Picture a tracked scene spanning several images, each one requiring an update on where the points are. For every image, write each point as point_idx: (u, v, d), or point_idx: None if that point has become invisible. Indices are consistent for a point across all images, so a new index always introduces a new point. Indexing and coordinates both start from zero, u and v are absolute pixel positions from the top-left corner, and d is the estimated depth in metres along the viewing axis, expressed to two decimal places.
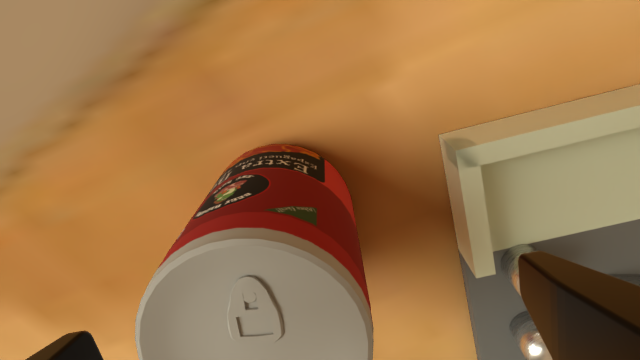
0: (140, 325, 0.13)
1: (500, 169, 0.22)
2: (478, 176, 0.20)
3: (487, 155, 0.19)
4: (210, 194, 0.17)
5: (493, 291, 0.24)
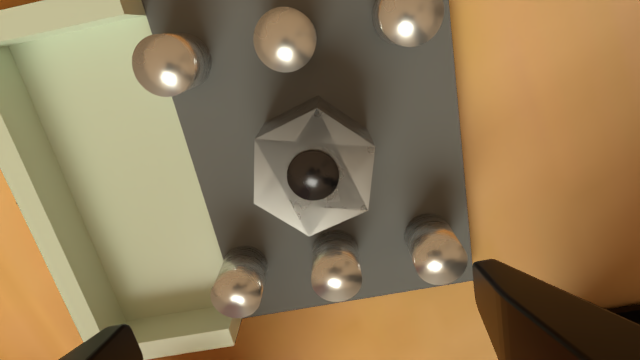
0: None
1: (140, 292, 0.21)
2: None
3: None
4: None
5: (284, 289, 0.21)
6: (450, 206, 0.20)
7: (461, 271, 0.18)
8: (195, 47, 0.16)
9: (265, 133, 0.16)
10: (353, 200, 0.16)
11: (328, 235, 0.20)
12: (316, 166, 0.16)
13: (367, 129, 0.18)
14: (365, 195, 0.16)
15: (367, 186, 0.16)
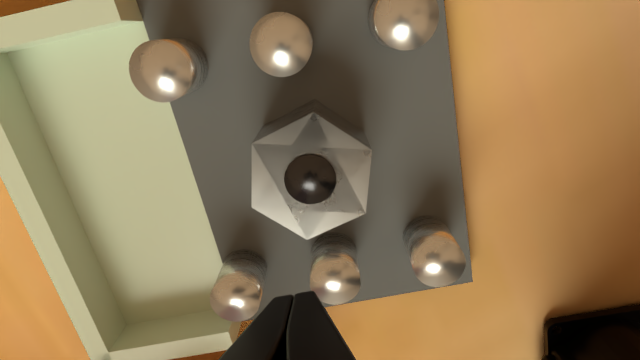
0: None
1: (140, 296, 0.22)
2: (119, 353, 0.20)
3: (97, 347, 0.20)
4: None
5: (284, 291, 0.21)
6: (448, 208, 0.20)
7: (459, 273, 0.18)
8: (192, 52, 0.16)
9: (262, 137, 0.16)
10: (350, 203, 0.17)
11: (326, 237, 0.20)
12: (313, 169, 0.16)
13: (364, 132, 0.18)
14: (362, 198, 0.16)
15: (364, 189, 0.16)
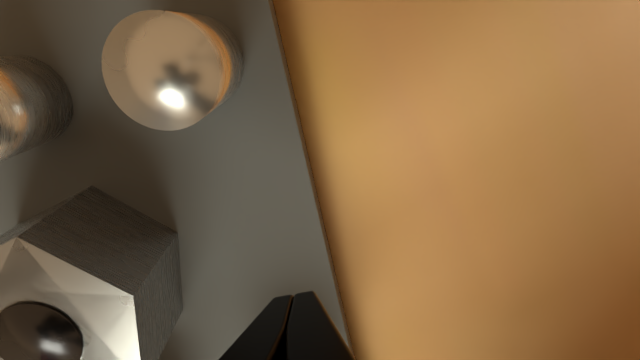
0: None
1: None
2: None
3: None
4: None
5: None
6: None
7: None
8: None
9: None
10: None
11: None
12: (40, 325, 0.09)
13: (175, 235, 0.12)
14: None
15: (134, 354, 0.10)
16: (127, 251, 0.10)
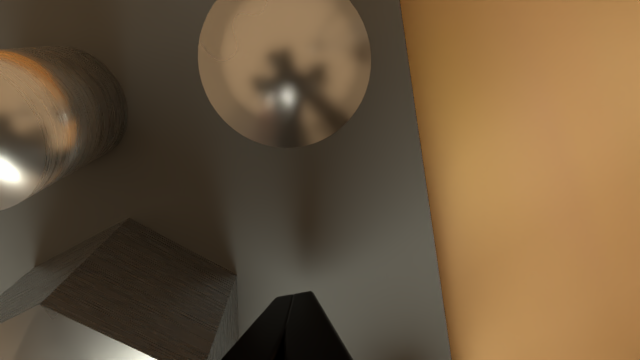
0: None
1: None
2: None
3: None
4: None
5: None
6: None
7: None
8: None
9: None
10: None
11: None
12: None
13: (235, 278, 0.09)
14: None
15: None
16: (183, 309, 0.08)
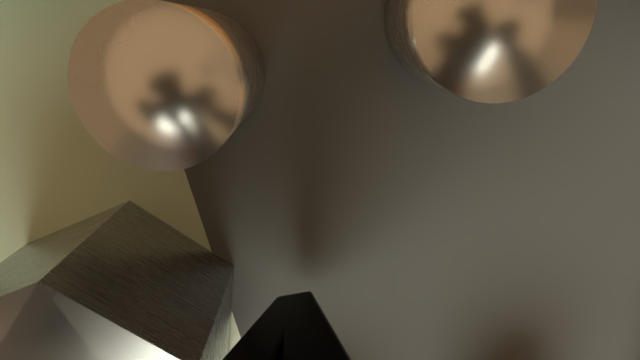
0: None
1: None
2: None
3: None
4: None
5: None
6: None
7: None
8: (237, 39, 0.06)
9: None
10: None
11: None
12: None
13: (232, 269, 0.09)
14: None
15: None
16: (181, 297, 0.07)
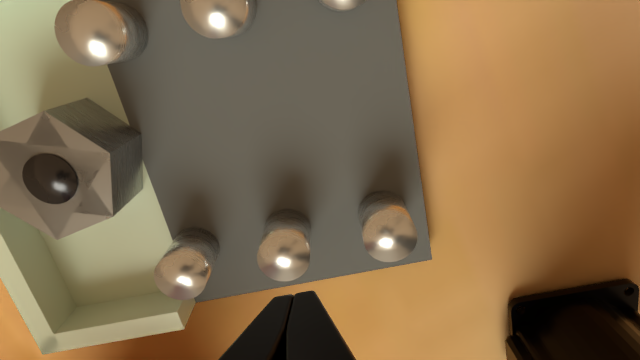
0: None
1: (89, 276, 0.21)
2: (65, 334, 0.20)
3: (42, 328, 0.19)
4: None
5: (238, 271, 0.21)
6: (404, 182, 0.19)
7: (412, 247, 0.17)
8: (124, 15, 0.15)
9: None
10: (96, 205, 0.16)
11: (278, 213, 0.19)
12: (53, 169, 0.16)
13: (140, 134, 0.18)
14: (107, 201, 0.16)
15: (108, 192, 0.16)
16: (107, 133, 0.17)
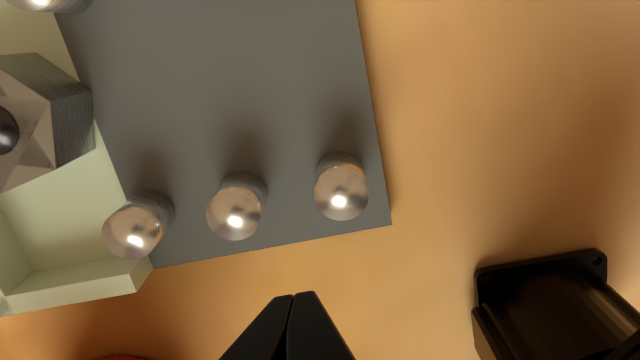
0: None
1: (44, 241, 0.21)
2: (16, 297, 0.19)
3: None
4: None
5: (195, 236, 0.20)
6: (361, 143, 0.19)
7: (363, 205, 0.17)
8: None
9: None
10: (38, 157, 0.16)
11: (232, 174, 0.19)
12: None
13: (90, 90, 0.18)
14: (50, 153, 0.16)
15: (50, 143, 0.16)
16: (52, 85, 0.16)
